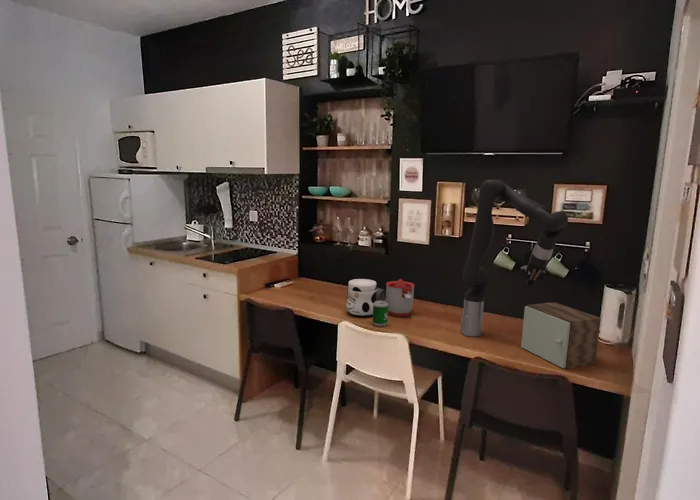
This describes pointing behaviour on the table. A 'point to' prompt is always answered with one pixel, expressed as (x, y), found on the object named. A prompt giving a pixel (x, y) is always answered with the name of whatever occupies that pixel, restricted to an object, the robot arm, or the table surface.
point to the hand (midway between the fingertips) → (528, 285)
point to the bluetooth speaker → (380, 294)
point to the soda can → (380, 313)
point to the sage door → (545, 336)
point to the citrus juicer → (399, 297)
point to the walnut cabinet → (576, 332)
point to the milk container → (361, 297)
